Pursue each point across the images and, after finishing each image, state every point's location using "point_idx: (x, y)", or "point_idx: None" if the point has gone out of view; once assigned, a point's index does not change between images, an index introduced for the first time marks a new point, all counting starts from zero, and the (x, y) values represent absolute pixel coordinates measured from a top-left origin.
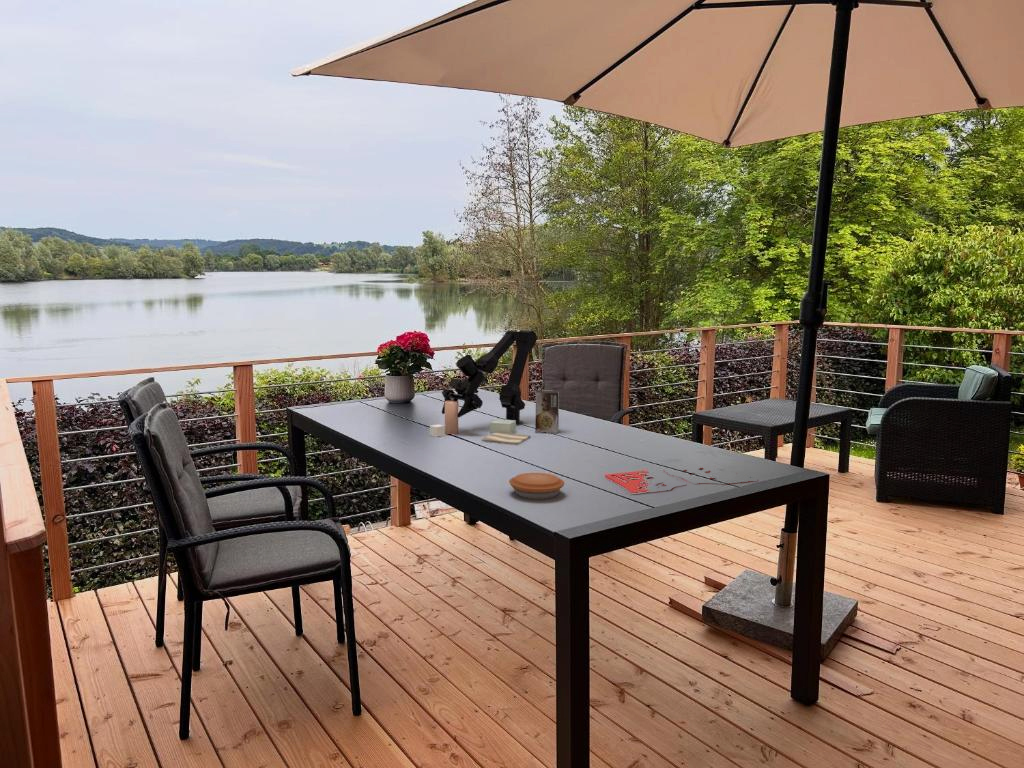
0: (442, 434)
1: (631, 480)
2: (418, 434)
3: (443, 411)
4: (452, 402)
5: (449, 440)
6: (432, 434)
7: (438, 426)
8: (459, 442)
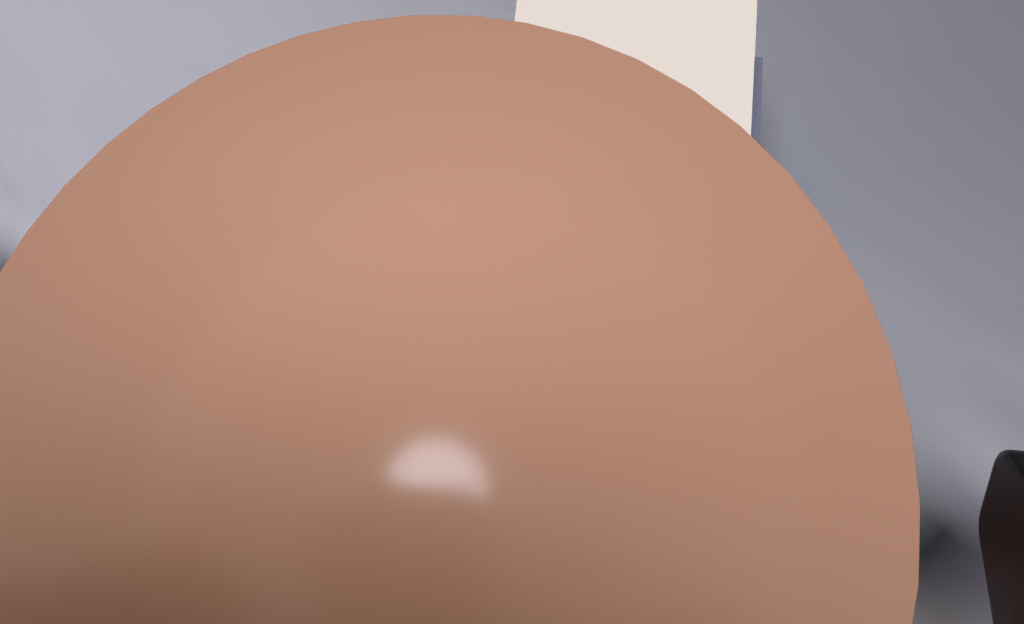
0: None
1: None
2: (986, 17)
3: (1016, 522)
4: (75, 221)
5: None
6: None
7: None
8: (62, 135)
